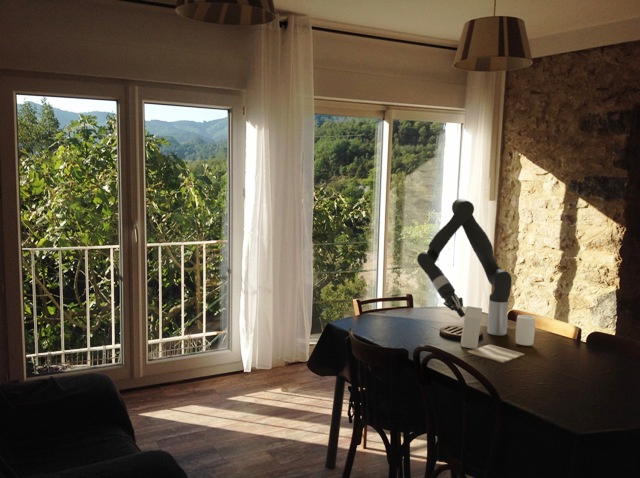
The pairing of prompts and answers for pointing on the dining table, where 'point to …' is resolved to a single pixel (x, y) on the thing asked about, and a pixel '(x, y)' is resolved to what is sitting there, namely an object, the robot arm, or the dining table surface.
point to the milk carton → (471, 327)
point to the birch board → (496, 353)
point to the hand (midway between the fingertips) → (463, 316)
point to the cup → (525, 329)
